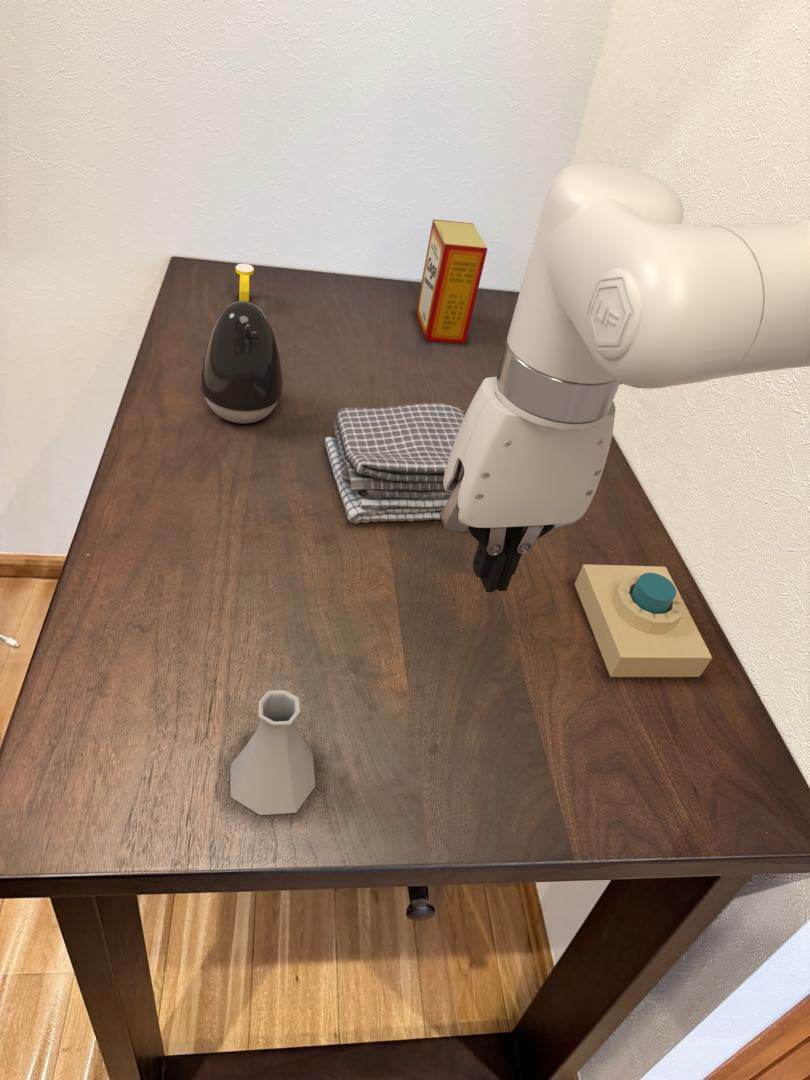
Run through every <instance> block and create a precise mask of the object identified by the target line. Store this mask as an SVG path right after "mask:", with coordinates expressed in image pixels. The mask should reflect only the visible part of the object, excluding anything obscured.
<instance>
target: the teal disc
mask: <svg viewBox="0 0 810 1080" xmlns="http://www.w3.org/2000/svg"><path fill="white" fill-rule="evenodd" d="M675 586H676V585H675ZM675 586H674V585H673V584H672V582H671V581H670V580H668V579H667V578H665V577H664V576H662V575H659V574H656V573H645V574H642V575H641V576H640V577H639V579H638V580H637V582H636V584H635V586H634V588H633V590H632V593H631V595H632V599H633V601H634V603H635V604H637V605H638V606H639V607H640V608H641V609H643V610H645V611H648V612H650V613H653V614H661V613H664V612H666V611H667V610H668V608H669V606H670V605H671V603H672V601H673V599H674V598H675V596H676V589H675Z"/></svg>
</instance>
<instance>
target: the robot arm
mask: <svg viewBox="0 0 810 1080" xmlns="http://www.w3.org/2000/svg"><path fill="white" fill-rule="evenodd" d="M543 202H544V203H543V206H542V210H541V213H540V217H539V220H538V224H537V228H536V231H535V235H534V239H533V242H532V245H531V249H530V253H529V257H528V261H527V263H526V268H525V271H524V276H523V279H522V282H521V285H520V290H519V293H518V297H517V301H516V304H515V308H514V311H513V315H512V318H511V323H510V325H509V329H508V332H507V338H506V340H505V345H504V348H503V352H502V355H501V359H500V363H499V366H498V370H497V372H496V376H490V377H485V378H484V379H483V381H482V382H481V384H480V385H479V387H478V389H477V390H476V392H475V394H474V396H473V398H472V400H471V401H470V404H469V406H468V408H467V410H466V412H465V417H464V419H463V421H462V424H461V426H460V429H459V431H458V434H457V437H456V440H455V442H454V445H453V448H452V451H451V454H450V457H449V460H448V464H447V467H446V470H445V474H444V480H443V485H444V489H445V492H452V494H451V496H450V498H449V500H448V501H447V503H446V505H445V507H444V509H443V510H442V512H441V514H440V518H441V523H442V526H443V528H444V530H445V531H447V532H453V533H459V534H465V535H466V534H467V533H468V534H471V536H472V537H473V538H474V539H475V540H476V541H477V542H478V544H477V548H476V551H475V554H474V557H473V559H472V560H473V561H472V569H473V572H474V575H475V576H476V577H475V578H479V579H480V581H481V583H482V586H483V589H484V591H485V592H486V593H494V592H495V591H498V592H507V591H508V588H509V585H510V583H511V580H512V577H513V575H515V574H516V572H517V569H518V566H519V563H520V560H521V559H522V555H524V554H527V553H529V552H530V551H531V550H532V549H533V547H534V545H535V543H536V542H537V540H539V539H540V538H542V537H543V536H544V535H546V534H548V533H549V532H551V531H552V530H553V529H554V530H555V529H560V528H564V527H568V526H572V525H575V524H577V523H578V521H579V520H580V519H581V518H583V516H584V515H585V514H586V512H587V511H588V509H589V507H590V505H591V503H592V501H593V499H594V496H595V494H596V492H597V489H598V487H599V483H600V481H601V478H602V475H603V472H604V469H605V466H606V462H607V459H608V455H609V451H610V447H611V443H612V438H613V434H614V433H613V432H614V427H615V426H614V425H615V419H616V404H615V402H614V399H615V397H616V395H617V392H618V390H619V387H620V385H625V386H629V387H632V388H636V389H645V390H646V389H647V390H651V389H652V390H653V389H662V388H663V389H664V388H668V387H675V386H682V385H688V384H696V383H703V382H708V381H712V380H716V379H722V378H728V377H735V376H742V375H748V374H755V373H763V372H764V373H765V372H771V371H772V372H773V371H779V370H780V371H781V370H786V369H797V368H805V367H810V219H804V220H798V221H789V222H764V223H763V222H761V223H760V222H757V223H755V222H754V223H753V222H751V223H737V224H736V223H734V224H731V223H730V224H711V225H700V224H699V225H698V224H687V223H686V224H683V221H684V207H683V203H682V199H681V198H680V196H679V194H678V192H676V190H675V189H674V188H672V187H671V186H670V185H669V184H667V183H666V182H664V181H663V180H661V179H659V178H658V177H656V176H653V175H652V174H649V173H647V172H644V171H642V170H639V169H636V168H632V167H628V166H625V165H621V164H615V163H610V162H601V161H590V162H578V163H574V164H572V165H569V166H568V167H565V168H563V169H562V170H561V171H560V172H559V173H557V175H556V176H555V177H554V179H553V180H552V182H551V184H550V185H549V187H548V190H547V193H546V196H545V199H544V201H543Z"/></svg>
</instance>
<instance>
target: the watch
mask: <svg viewBox="0 0 810 1080" xmlns="http://www.w3.org/2000/svg"><path fill="white" fill-rule="evenodd" d="M234 270H235V273H236V274H237V275H239V285H238V286H239V297H238V298H239V300H238V302H239V301H245V302H250V276H253V275H254V273H255V268H254V266H253V265H251V264H248V263H239V264H237V265H235V269H234Z"/></svg>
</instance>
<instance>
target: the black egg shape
mask: <svg viewBox="0 0 810 1080" xmlns="http://www.w3.org/2000/svg"><path fill="white" fill-rule="evenodd" d="M281 363H282V362H281V357H280V352H279V349H278V344H277V341H276V337H275V334H274V331H273V327H272V326H271V323H270V321H269V319H268V317H267V316H266V314H265V313H264V311H263V310H262V309H261V308H260V307H259V306H257V305H256V304H254V303H252V302H250V301H249V302H245V301H239V300H238V301H235V302H232V303H230V304H229V305H227V306H226V307H225V308H224V309H223V310H222V312H221V313H220V314H219V316H218V318H217V319H216V321H215V323H214V325H213V328H212V330H211V333H210V335H209V339H208V342H207V344H206V348H205V351H204V356H203V361H202V366H201V373H200V374H201V375H200V390H201V393H202V394H203V396H204V398H205V401H206V403H207V405H208V406H209V408H210V409H211V411H212V412H214V413H215V415H217V416H218V417H219V418H221V419H223V420H225V421H228V422H229V423H230V422H231V423H235V424H252V423H256V422H259V421H261V420H263V419H265V418H267V416H269V415H270V414H271V413H272V412H273V410H274V409H275V408H276V406H277V404H278V401H279V400H280V399H281V397H282V394H283V389H284V388H283V386H284V384H283V383H284V381H283V370H282V364H281Z"/></svg>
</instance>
